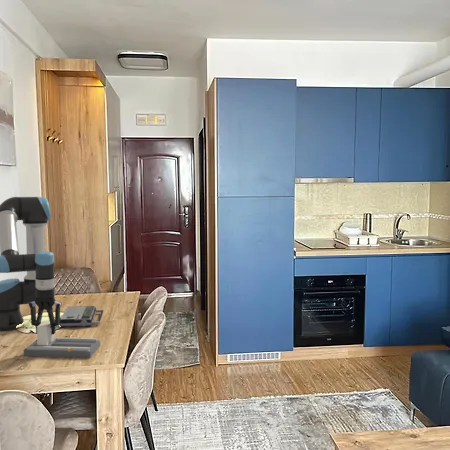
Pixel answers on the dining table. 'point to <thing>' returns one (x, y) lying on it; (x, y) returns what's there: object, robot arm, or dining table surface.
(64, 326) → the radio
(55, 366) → the dining table surface
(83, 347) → the grey slider base
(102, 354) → the dining table surface
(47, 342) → the fader tab
